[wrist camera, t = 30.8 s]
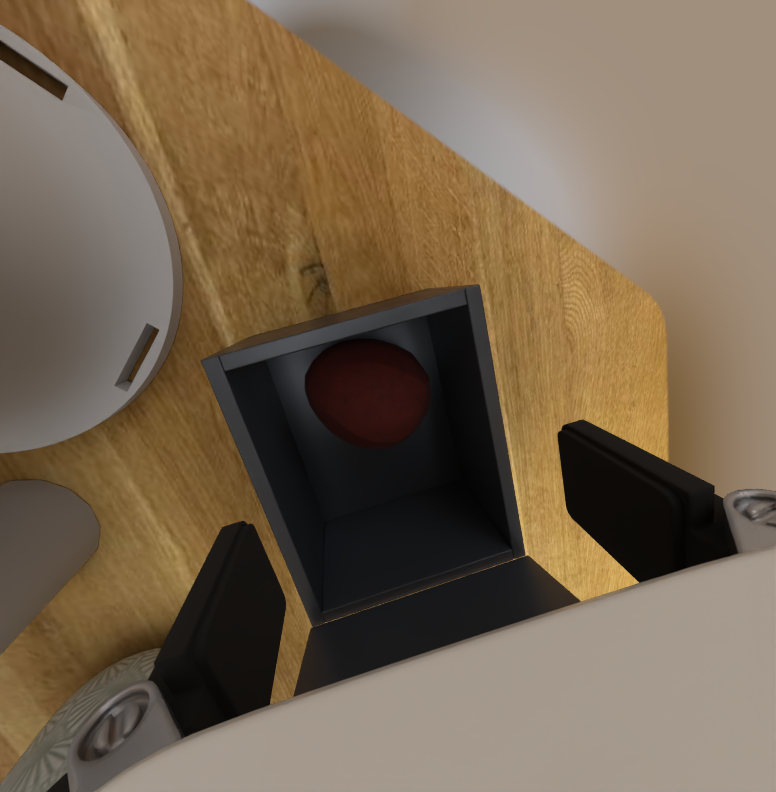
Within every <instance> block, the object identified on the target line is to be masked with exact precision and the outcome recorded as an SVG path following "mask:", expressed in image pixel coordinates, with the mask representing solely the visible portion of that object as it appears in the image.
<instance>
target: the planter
mask: <svg viewBox="0 0 776 792" xmlns="http://www.w3.org/2000/svg"><path fill="white" fill-rule="evenodd" d="M161 648H162V647H161ZM161 648H154V649H150V650H146V651H143V652H140V653H137V654H134V655H131V656H129V657H127V658H124V659H122V660H120V661H118V662H116V663H114V664H112V665H110V666H109V667H107V668H105V669H104V670H102V671H101V672H100V673H98V674H97V675H95V676H94V677H93V678H92V679H90V680H89V681H88V682H87V683H85V684H84V685H83V686H82V687H81V688H79V689H78V690H77V691H76V692H75V693H74V694H73V695H72V696H71V697H70V698H69V699H68V700H67V701H66V702H65V703H64V704H63V705H62V706H61V707H60V708H59V709H58V711H57V712H56V713H55V714H54V715H53V716H52V717H51V719H50V720H49V721H48V722H47V724H46V725H45V726H44V727H43V729H42V730H41V731H40V732H39V734H38V735H37V736H36V737H35V739H34V740H33V741H32V743H31V744H30V745H29V747H28V748H27V749H26V751H25V752H24V753H23V755H22V756H21V757H20V759H19V760H18V761H17V763H16V764H15V765H14V767H13V768H12V769H11V771H10V772H9V773H8V775H7V776H6V777H5V779H4V780H3V781H2V783H1V784H0V792H46V791H47V790H48V789H49V788H50V787H51V786H53V785H54V784H55V783H56V782H57V781H58V780H59V779H60V778H61V777H62V776H63V775H64V774H66V773H67V766H66V761H67V752H68V750H69V747H70V745H71V743H72V740H73V738H74V737H75V735H76V734H77V732H78V730H79V729H80V727H81V726H82V724H83V723H84V722H85V721H86V720H87V718H88V717H89V716H90V715H91V714H92V713H93V711H94V710H95V709H96V708H98V707H99V706H100V705H101V704H102V703H103V702H104V701H105V700H106V699H107V698H109V697H110V696H111V695H113V694H114V693H116V692H117V691H119V690H120V689H121V688H124V687H126V686H128V685H130V684H132V683H134V682H138V681H142V680H148V679H149V677H150V675H151V673H152V671H153V669H154V667H155V665H154V664H153V663H154V661H155V659H156V657H157V655H158V654H159V652H160V650H161Z"/></svg>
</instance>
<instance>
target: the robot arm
mask: <svg viewBox="0 0 776 792" xmlns="http://www.w3.org/2000/svg"><path fill="white" fill-rule="evenodd" d="M561 430H562V431H559V432H558V444H559V452H560V460H561V468H562V476H563V485H564V493H565V501H566V508H567V511H568V513H569V515H570V516H571V517H572V519H573V520H574V521H575V522H576V523H578V524H579V525H580V526H581V527H582V528H583V529H584V530H585V531H586V532H587V533H588V534H589V535H590V536H591V537H592V538H593V539H594V540H595V541H596V542H597V543H598V544H599V545H601V546H602V547H603V548H604V549H605V550H606V551H607V552H608V553H609V554H610V555H611V556H612V557H613V558H614V559H615V560H616V561H617V562H618V563H619V564H620V565H621V566H623V567H624V568H625V569H626V570H627V571H628V572H629V573H630V574H631V575H632V576H633V577H634V578H635V579H636V580H637V581H638V582H639V583H638V584H635V585H632V586H629V587H626V588H622V589H619V590H616V591H613V592H610V593H607V594H604V595H601V596H597V597H594V598H591V599H588V600H585V601H582V602H579V603H576V604H573V605H569V606H566V607H563V608H560V609H557V610H554V611H551V612H548V613H545V614H542V615H538V616H535V617H532V618H529V619H526V620H523V621H520V622H517V623H514V624H511V625H508V626H505V627H502V628H499V629H496V630H493V631H490V632H487V633H483V634H480V635H477V636H474V637H471V638H468V639H465V640H462V641H459V642H456V643H453V644H450V645H447V646H444V647H441V648H438V649H435V650H432V651H429V652H426V653H423V654H420V655H417V656H414V657H411V658H408V659H405V660H402V661H399V662H396V663H393V664H390V665H387V666H384V667H381V668H378V669H375V670H372V671H369V672H366V673H363V674H360V675H357V676H354V677H351V678H348V679H345V680H342V681H339V682H336V683H333V684H330V685H327V686H324V687H321V688H318V689H315V690H312V691H309V692H306V693H303V694H301V695H298V696H295V697H292V698H289V699H286V700H283V701H280V702H277V703H274V704H272V705H270V699H271V693H272V687H273V681H274V675H275V669H276V663H277V657H278V652H279V646H280V640H281V634H282V628H283V622H284V616H285V610H286V601H285V596H284V593H283V591H282V589H281V586H280V584H279V582H278V579H277V577H276V575H275V572H274V570H273V568H272V566H271V563H270V561H269V559H268V556H267V554H266V552H265V549H264V547H263V545H262V543H261V540H260V538H259V536H258V533H257V531H256V529H255V527H254V525H253V524H247V523H246V522H245V521H241V522H237V523H234V524H231V525H227V526H224V527H222V529H221V530H220V532H219V534H218V536H217V538H216V540H215V542H214V544H213V546H212V548H211V550H210V552H209V554H208V556H207V558H206V560H205V562H204V564H203V566H202V568H201V570H200V572H199V574H198V576H197V578H196V580H195V582H194V584H193V586H192V588H191V590H190V592H189V594H188V596H187V598H186V600H185V602H184V604H183V606H182V608H181V610H180V612H179V614H178V616H177V618H176V620H175V622H174V624H173V626H172V628H171V630H170V632H169V634H168V636H167V638H166V640H165V642H164V644H163V646H162V648H161V650H160V652H159V654H158V655H157V657H156V659H155V661H154V663H153V664H154V665H155V667H154V669H153V671H152V673H151V675H150V677H149V679H148V680H142V681H138V682H134V683H132V684H130V685H128V686H126V687H124V688H121V689H120V690H119V691H117V692H116V693H114V694H113V695H111V696H110V697H109V698H107V699H106V700H105V701H104V702H103V703H102V704H101V705H100V706H99V707H98V708H96V709H95V710H94V711H93V713H92V714H91V715H90V716H89V717H88V718H87V720H86V721H85V722H84V723H83V724H82V726H81V727H80V729H79V730H78V732H77V734H76V735H75V737H74V738H73V740H72V743H71V745H70V747H69V750H68V752H67V761H66V766H67V773H66V774H64V775H63V776H62V777H61V778H60V779H59V780H58V781H57V782H56V783H55V784H54V785H53V786H51V787H50V788H49V789H48V790H47V791H46V792H776V491H771V490H763V489H744V490H737V491H734V492H732V493H729V494H727V496H726V497H725V498H724V499H723V498H721V497H720V496H718V495H716V494H714V491H715V490H714V486H713V485H712V484H710V483H708V482H706V481H704V480H702V479H700V478H698V477H696V476H694V475H692V474H690V473H688V472H686V471H684V470H682V469H680V468H678V467H676V466H674V465H672V464H670V463H668V462H666V461H664V460H662V459H660V458H658V457H656V456H654V455H652V454H650V453H649V452H647V451H645V450H643V449H641V448H639V447H637V446H635V445H633V444H631V443H629V442H627V441H625V440H623V439H621V438H619V437H617V436H615V435H613V434H611V433H609V432H607V431H605V430H603V429H601V428H599V427H597V426H595V425H593V424H591V423H589V422H587V421H585V420H579V421H576V422H572V423H569V424H566V425H563V426H562V429H561Z"/></svg>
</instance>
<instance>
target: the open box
mask: <svg viewBox="0 0 776 792" xmlns="http://www.w3.org/2000/svg"><path fill="white" fill-rule="evenodd" d="M357 338H360V339H377V340H381V341H384V342H388V343H392V344H395V345H398V346H400V347H401V348H403V349H405V350H407V351H409V352H410V353H412V354H413V355H414V357H415V358H416V359H417V360H418V362H419V363H420V364H421V366H422V367H423V368H424V370H425V371H426V372H427V374H428V376H429V379H430V389H431V401H430V404H429V408H428V412H427V414H426V416H425V417H424V419H423V421H422V422H421V424H420V425H419V427H418V428H417V429H416V430H415V431H414V432H413V433H412V434H411V435H410V436H409V437H408V438H407V439H406V440H405V441H403V442H401V443H398V444H396V445H394V446H392V447H389V448H387V449H368V448H360V447H357V446H354V445H351V444H348V443H346V442H344V441H343V440H342V439H340V438H339V437H337V436H336V435H334V434H333V433H332V432H330V431H329V430H328V429H327V428H326V427H325V425H324V424H323V423H322V422H321V421H320V420H319V419H318V418H317V416H316V414H315V413H314V411H313V410H312V408H311V407H310V405H309V402H308V399H307V396H306V393H305V374H306V372H307V370H308V369H309V367H310V365H311V363H312V361H313V360H314V359H315V358H316V357H317V356H318V355H319V354H321V353H322V352H323V351H324V350H325V349H327V348H329V347H331V346H333V345H335V344H337V343H339V342H343V341H347V340H352V339H357ZM201 362H202V365H203V367H204V369H205V372H206V374H207V377H208V379H209V381H210V384H211V386H212V388H213V391H214V393H215V396H216V398H217V400H218V403H219V405H220V407H221V410H222V412H223V415H224V417H225V419H226V422H227V424H228V426H229V429H230V431H231V434H232V436H233V438H234V441H235V443H236V445H237V448H238V450H239V453H240V455H241V457H242V460H243V462H244V465H245V467H246V469H247V472H248V474H249V476H250V479H251V481H252V484H253V486H254V488H255V491H256V493H257V495H258V498H259V500H260V503H261V505H262V507H263V510H264V512H265V514H266V517H267V519H268V522H269V524H270V526H271V529H272V531H273V533H274V536H275V538H276V541H277V543H278V545H279V548H280V550H281V553H282V555H283V557H284V560H285V562H286V564H287V567H288V569H289V572H290V574H291V576H292V579H293V581H294V583H295V586H296V588H297V591H298V593H299V595H300V598H301V600H302V602H303V605H304V607H305V610H306V612H307V614H308V617H309V619H310V621H311V624H312V626H313V627H314V626H317V625H320V624H323V623H325V622H329V621H332V620H335V619H338V618H341V617H344V616H347V615H350V614H353V613H355V612H358V611H361V610H364V609H367V608H370V607H373V606H376V605H379V604H382V603H385V602H388V601H391V600H394V599H397V598H400V597H403V596H406V595H409V594H412V593H415V592H418V591H421V590H424V589H427V588H430V587H433V586H436V585H439V584H442V583H445V582H448V581H451V580H454V579H457V578H460V577H463V576H466V575H469V574H472V573H475V572H478V571H481V570H484V569H487V568H490V567H493V566H496V565H499V564H502V563H505V562H508V561H511V560H513V558H514V559H516V558H519V557H522V556H525V549H524V543H523V537H522V531H521V526H520V520H519V514H518V508H517V502H516V496H515V490H514V484H513V478H512V472H511V467H510V461H509V455H508V449H507V443H506V437H505V431H504V425H503V419H502V413H501V407H500V402H499V396H498V390H497V384H496V378H495V372H494V366H493V360H492V354H491V348H490V342H489V337H488V331H487V325H486V319H485V313H484V307H483V301H482V295H481V289H480V285H478V284H477V285H465V286H453V287H441V288H429V289H424V290H421V291H417V292H413V293H410V294H406V295H402V296H399V297H395V298H391V299H387V300H384V301H380V302H376V303H373V304H369V305H365V306H362V307H358V308H354V309H351V310H347V311H343V312H340V313H336V314H332V315H328V316H325V317H321V318H317V319H314V320H310V321H306V322H303V323H299V324H295V325H292V326H288V327H284V328H281V329H277V330H273V331H269V332H266V333H262V334H258V335H255V336H251V337H248V338H246V339H244V340H242V341H240V342H238V343H236V344H233V345H231V346H229V347H227V348H225V349H223V350H221V351H219V352H217V353H215V354H213V355H211V356H209V357H207V358H205V359H203V360H201Z"/></svg>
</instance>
